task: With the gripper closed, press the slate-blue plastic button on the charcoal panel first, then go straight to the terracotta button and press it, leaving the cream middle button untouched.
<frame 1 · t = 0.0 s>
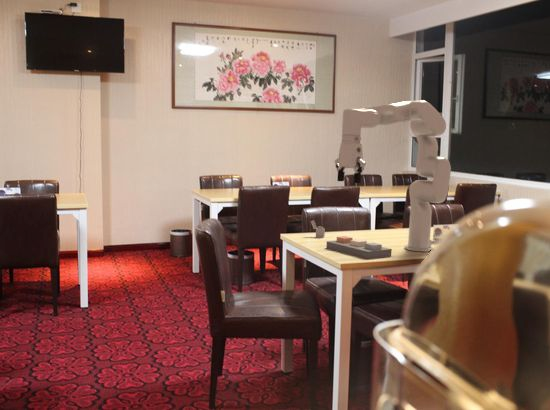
hand: (348, 182, 241), 31 cm above the table, tool pointing down, fingers open, 9 cm apart
terracotta button: (344, 240, 265), point 4 cm above the table, slide at 0.0 cm
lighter: (317, 237, 295), on the table
cream button: (358, 243, 258), point 3 cm above the table, slide at 0.0 cm
slate button: (373, 247, 250), point 3 cm above the table, slide at 0.0 cm
button panel: (357, 251, 258), on the table
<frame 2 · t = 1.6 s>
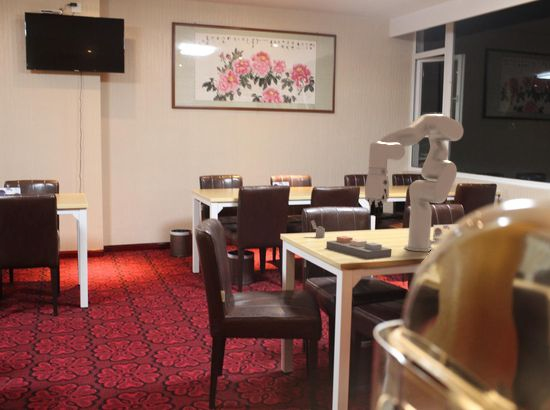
hand: (374, 215, 249), 17 cm above the table, tool pointing down, fingers closed
nothing on the table moved.
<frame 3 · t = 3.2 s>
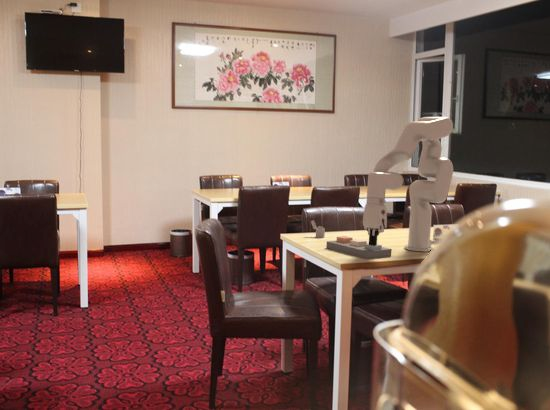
hand: (372, 244, 250), 5 cm above the table, tool pointing down, fingers closed
slate button: (373, 248, 250), point 3 cm above the table, slide at 0.3 cm, touching gripper
everything else where it was.
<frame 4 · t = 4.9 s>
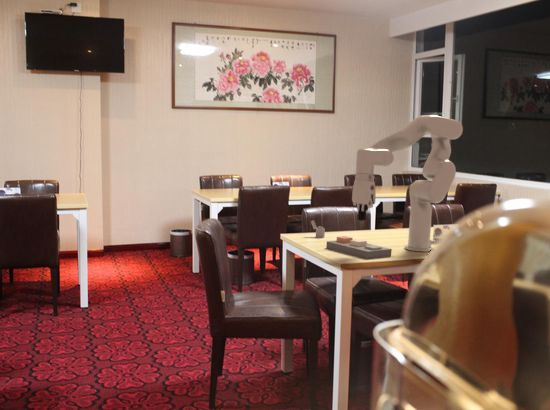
hand: (361, 220, 255), 14 cm above the table, tool pointing down, fingers closed
slate button: (372, 250, 251), point 2 cm above the table, slide at 1.1 cm
everything else where it was.
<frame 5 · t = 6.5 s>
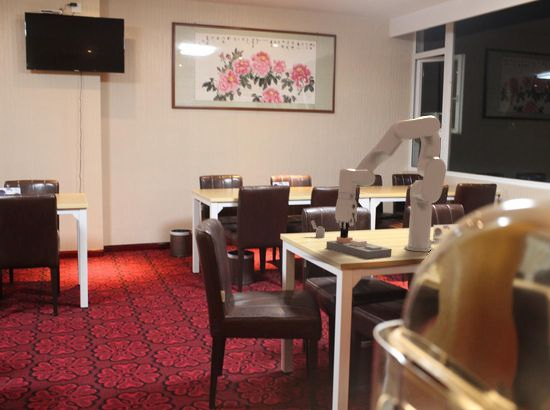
hand: (344, 237, 265), 5 cm above the table, tool pointing down, fingers closed
terracotta button: (344, 240, 265), point 3 cm above the table, slide at 0.0 cm, touching gripper
everything else where it was.
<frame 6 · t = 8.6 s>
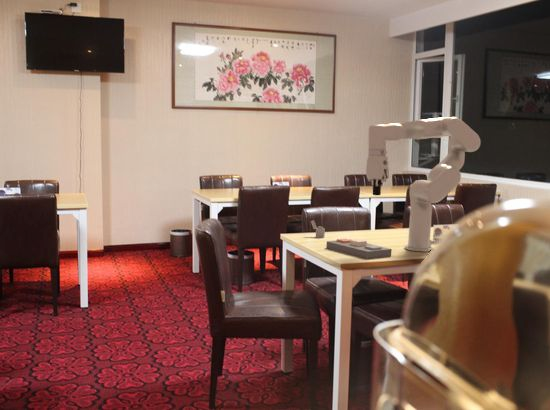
hand: (376, 194, 261), 25 cm above the table, tool pointing down, fingers closed
terracotta button: (344, 243, 265), point 2 cm above the table, slide at 1.1 cm
everything else where it was.
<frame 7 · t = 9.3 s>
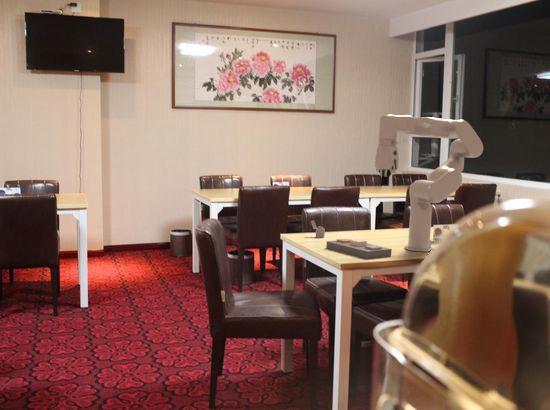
hand: (384, 185, 259), 29 cm above the table, tool pointing down, fingers closed
nothing on the table moved.
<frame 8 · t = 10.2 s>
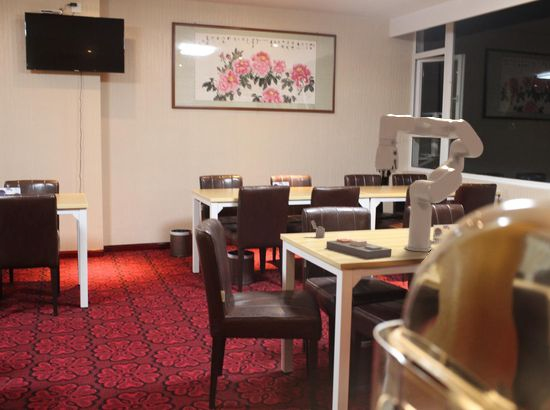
hand: (384, 185, 259), 29 cm above the table, tool pointing down, fingers closed
nothing on the table moved.
at the end: slate button slide at 1.1 cm; terracotta button slide at 1.1 cm; cream button slide at 0.0 cm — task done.
